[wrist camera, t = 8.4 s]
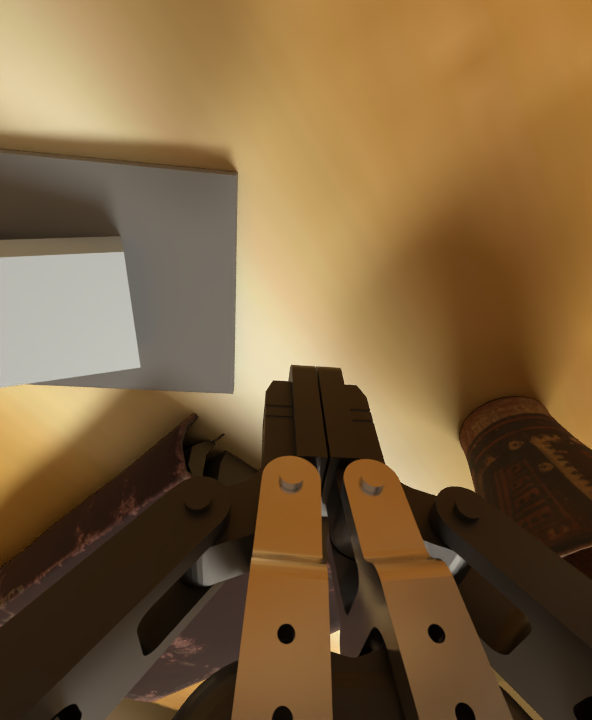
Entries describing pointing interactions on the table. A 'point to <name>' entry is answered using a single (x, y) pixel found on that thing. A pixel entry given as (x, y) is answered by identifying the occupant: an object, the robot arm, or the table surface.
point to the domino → (64, 309)
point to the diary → (111, 514)
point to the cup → (533, 474)
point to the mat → (143, 255)
